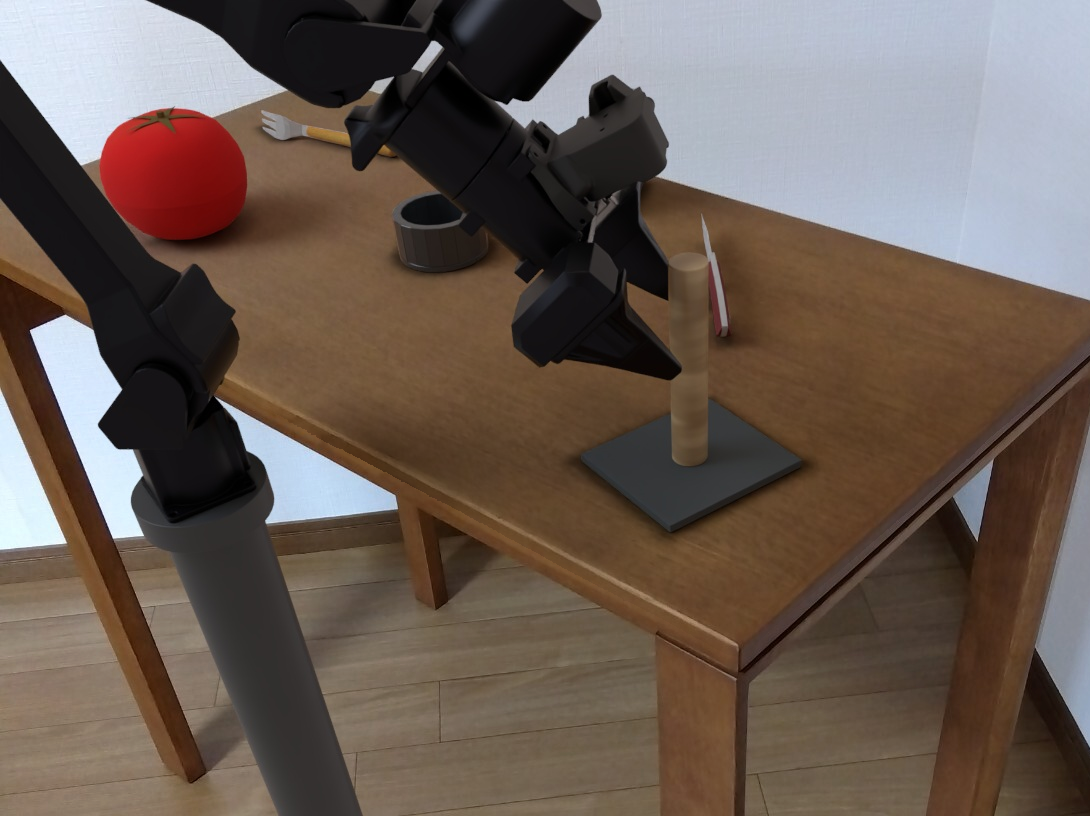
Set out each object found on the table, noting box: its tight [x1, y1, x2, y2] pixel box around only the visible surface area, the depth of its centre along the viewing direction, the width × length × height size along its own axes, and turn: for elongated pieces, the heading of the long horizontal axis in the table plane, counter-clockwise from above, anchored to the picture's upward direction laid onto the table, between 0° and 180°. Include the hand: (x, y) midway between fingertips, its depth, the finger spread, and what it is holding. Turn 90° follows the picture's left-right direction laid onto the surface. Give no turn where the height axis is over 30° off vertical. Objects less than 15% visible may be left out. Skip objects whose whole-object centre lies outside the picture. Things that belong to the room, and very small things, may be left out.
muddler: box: [668, 251, 710, 466], centre depth 72 cm, size 2×2×14 cm
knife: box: [700, 212, 732, 338], centre depth 94 cm, size 20×1×3 cm, turn 2°
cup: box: [391, 190, 490, 273], centre depth 101 cm, size 8×8×4 cm
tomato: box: [98, 105, 248, 241], centre depth 106 cm, size 12×13×11 cm
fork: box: [260, 109, 397, 158], centre depth 123 cm, size 2×2×20 cm
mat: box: [580, 397, 803, 534], centre depth 77 cm, size 11×10×1 cm
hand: (679, 334), depth 70 cm, fingers open, 9 cm apart
